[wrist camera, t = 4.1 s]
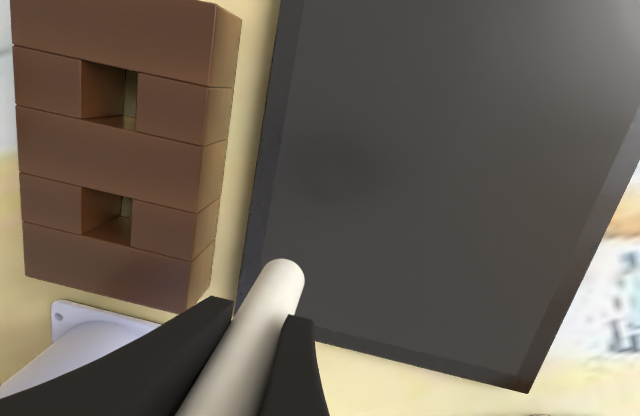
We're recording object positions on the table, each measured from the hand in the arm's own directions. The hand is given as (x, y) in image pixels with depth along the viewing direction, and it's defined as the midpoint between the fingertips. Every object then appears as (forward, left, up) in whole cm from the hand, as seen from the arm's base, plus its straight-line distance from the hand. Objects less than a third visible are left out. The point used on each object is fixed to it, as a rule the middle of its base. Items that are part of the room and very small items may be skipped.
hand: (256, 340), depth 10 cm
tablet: (+5, -5, -10) cm, 12 cm away
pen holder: (+2, +9, -10) cm, 13 cm away
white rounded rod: (0, 0, -4) cm, 4 cm away
